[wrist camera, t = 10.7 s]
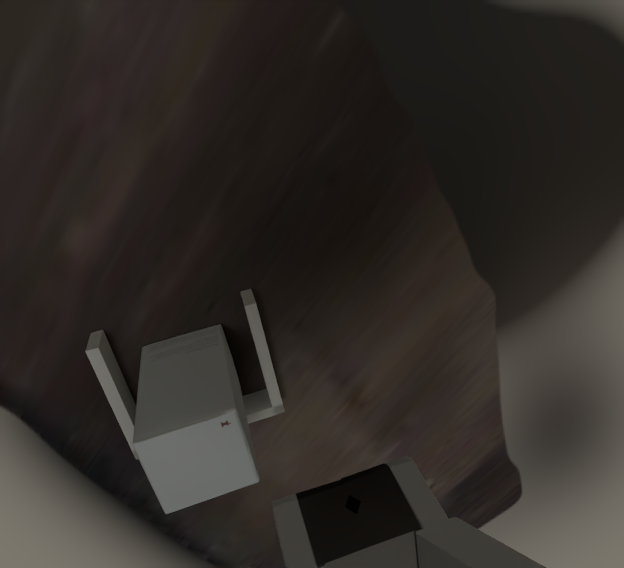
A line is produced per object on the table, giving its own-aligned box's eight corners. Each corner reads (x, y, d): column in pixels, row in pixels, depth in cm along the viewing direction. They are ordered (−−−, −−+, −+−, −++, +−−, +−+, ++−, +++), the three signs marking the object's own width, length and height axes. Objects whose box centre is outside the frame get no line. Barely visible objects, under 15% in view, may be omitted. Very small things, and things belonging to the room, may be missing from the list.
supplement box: (139, 344, 43) (128, 442, 32) (222, 321, 44) (239, 407, 33) (165, 409, 46) (162, 518, 35) (241, 385, 47) (262, 484, 36)
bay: (90, 332, 41) (85, 351, 39) (250, 288, 43) (256, 302, 41) (138, 437, 46) (136, 459, 44) (278, 393, 49) (284, 412, 46)
